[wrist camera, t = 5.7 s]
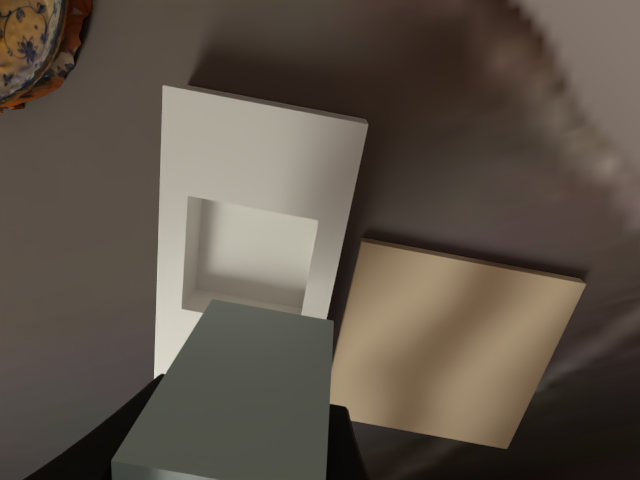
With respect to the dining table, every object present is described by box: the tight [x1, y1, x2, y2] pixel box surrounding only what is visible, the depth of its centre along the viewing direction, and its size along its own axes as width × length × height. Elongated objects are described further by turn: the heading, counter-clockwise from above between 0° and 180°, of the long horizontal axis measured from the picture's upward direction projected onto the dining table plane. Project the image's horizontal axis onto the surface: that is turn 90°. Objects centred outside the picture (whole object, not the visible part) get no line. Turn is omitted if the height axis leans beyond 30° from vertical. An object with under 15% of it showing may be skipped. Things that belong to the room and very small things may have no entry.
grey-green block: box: [111, 299, 334, 480], centre depth 11 cm, size 4×4×6 cm
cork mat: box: [330, 237, 586, 449], centre depth 22 cm, size 11×11×1 cm
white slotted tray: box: [154, 85, 368, 379], centre depth 20 cm, size 8×22×3 cm, turn 170°
